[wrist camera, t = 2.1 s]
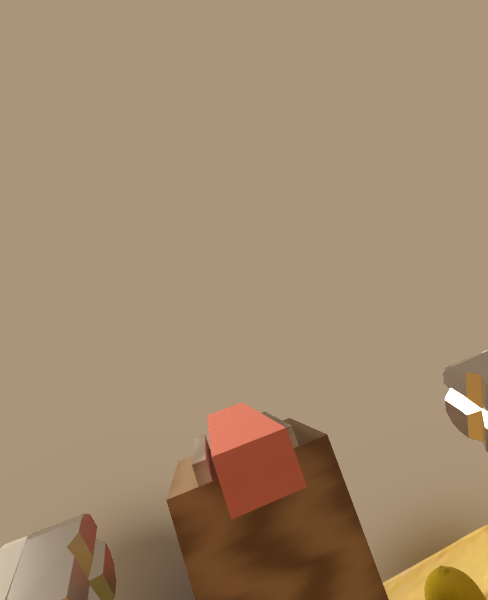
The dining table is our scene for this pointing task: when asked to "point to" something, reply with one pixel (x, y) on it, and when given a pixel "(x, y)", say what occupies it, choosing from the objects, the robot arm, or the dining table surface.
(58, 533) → the robot arm
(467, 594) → the lemon
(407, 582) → the dining table surface
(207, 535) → the wooden knife block
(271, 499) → the salmon red bar
